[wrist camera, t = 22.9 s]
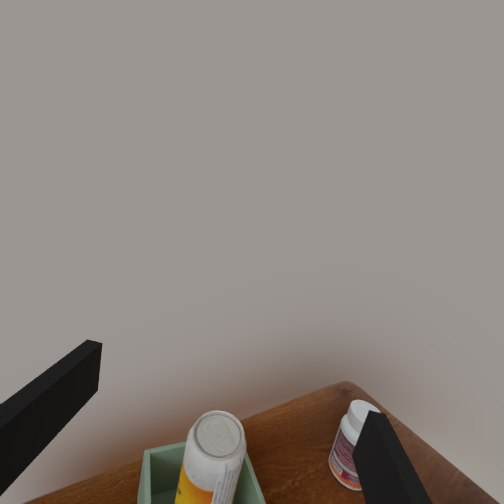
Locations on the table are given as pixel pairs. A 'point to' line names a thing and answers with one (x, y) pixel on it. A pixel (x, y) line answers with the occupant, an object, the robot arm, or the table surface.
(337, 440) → the pill bottle
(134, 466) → the table surface
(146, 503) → the trash bin
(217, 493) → the beer can
